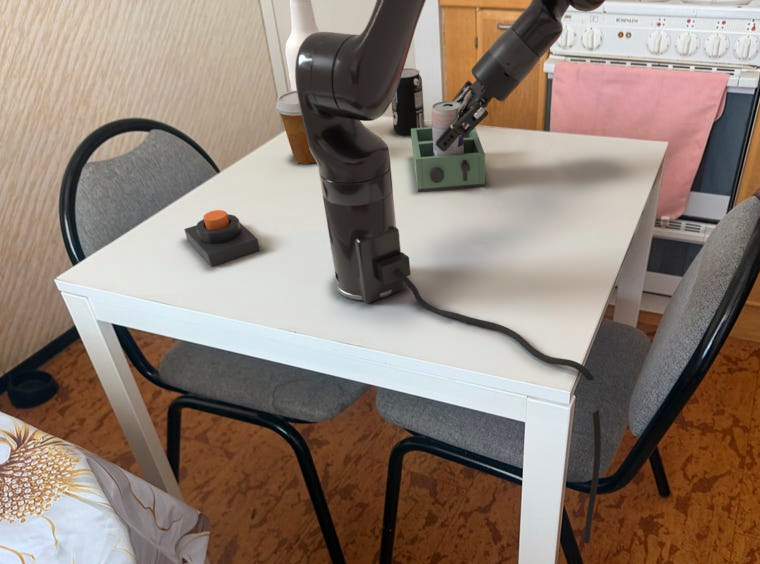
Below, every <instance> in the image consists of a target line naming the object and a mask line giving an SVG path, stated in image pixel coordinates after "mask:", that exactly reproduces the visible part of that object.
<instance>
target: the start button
mask: <svg viewBox="0 0 760 564" xmlns="http://www.w3.org/2000/svg"><path fill="white" fill-rule="evenodd" d="M227 214H228V211H226V210H222V209H216V210H210V211H208V212H206V213H205V214H204V215H203V217H202V218H203V219H204V222H205V225H206V228H207V229H209V230H216V229H221V228H224V227H226V226H228V225H229V219H228V215H227Z"/></svg>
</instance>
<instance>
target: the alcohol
mask: <svg viewBox="0 0 760 564" xmlns="http://www.w3.org/2000/svg"><path fill="white" fill-rule="evenodd" d="M289 11H290V20H291V21H290V22H291V32H290V35H289V37H288V39H287V40H286V43H285V50H284V51H285V52H284V54H285V58H286V66H287V71H288V76H289V82H290V88H291V91H296V90H297V89H296V81H295V65H296V58H297V54H298V51H299V48H300V46H301V44H302V43H303V41H304V40H305V39H306V38H307V37H308V36H309V35H311V34H313V33H316V32H320V30H319V28H318V26H317V22H316V18H315V14H314V9H313V4H312V0H289Z"/></svg>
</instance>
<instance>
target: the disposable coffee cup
mask: <svg viewBox="0 0 760 564" xmlns="http://www.w3.org/2000/svg"><path fill="white" fill-rule="evenodd" d="M275 108H276V110H277V111H278V113H279V114H280V119H281V121H282V124H283V128H284V131H285V134H286V137H287V141H288V142H289V146H290V150H291V153H292V156H293V159H294V161H295V163H297V164H298V163H299V164H305V165H308V164H309V165H310V164H315V163H316V164H317V162H316V160H315V159H314V157H313V155H312V153H311V151H310V149H309V145H308V141H307V137H306V132H305V127H304V123H303V118H302V114H301V109H300V105H299V100H298V95H297V90H296V91H292V90H291V91H288V92H284V93H282V94H280V95H279V96H277V100H276V104H275Z"/></svg>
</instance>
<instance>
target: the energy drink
mask: <svg viewBox="0 0 760 564" xmlns="http://www.w3.org/2000/svg"><path fill="white" fill-rule="evenodd" d="M460 103H461V102H460ZM460 103H458V102H454V101H452V100H445V101H444V100H443V101H439V102H435V103H434V104H433V105H432V106H431V110H430V111H431V112H430V114H431V127H432V133H433V150H434V156H442V155H454V154H464V145H463V137H462V136H461V137H460V136H458V138H457V139H456V140H455V141H454V142H453V143H452V144H451V145H450V146H449V148H448V149H447V150H446V151H442V150H440V149H439V148H438V147H437V146H436V143H435V142H436V140H437V139H438V138H439V137H440V136H441V135H442V134H443V133H444V131H445V130H446V129H447V128H448V127H449V126H450V124H451V123H452V122H453V120H454V119H455V117H456V111H457V110H458V108H459V107H460V105H461V104H460ZM463 124H464V123H463ZM463 124H462V125H461V126H462V127H463Z"/></svg>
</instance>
